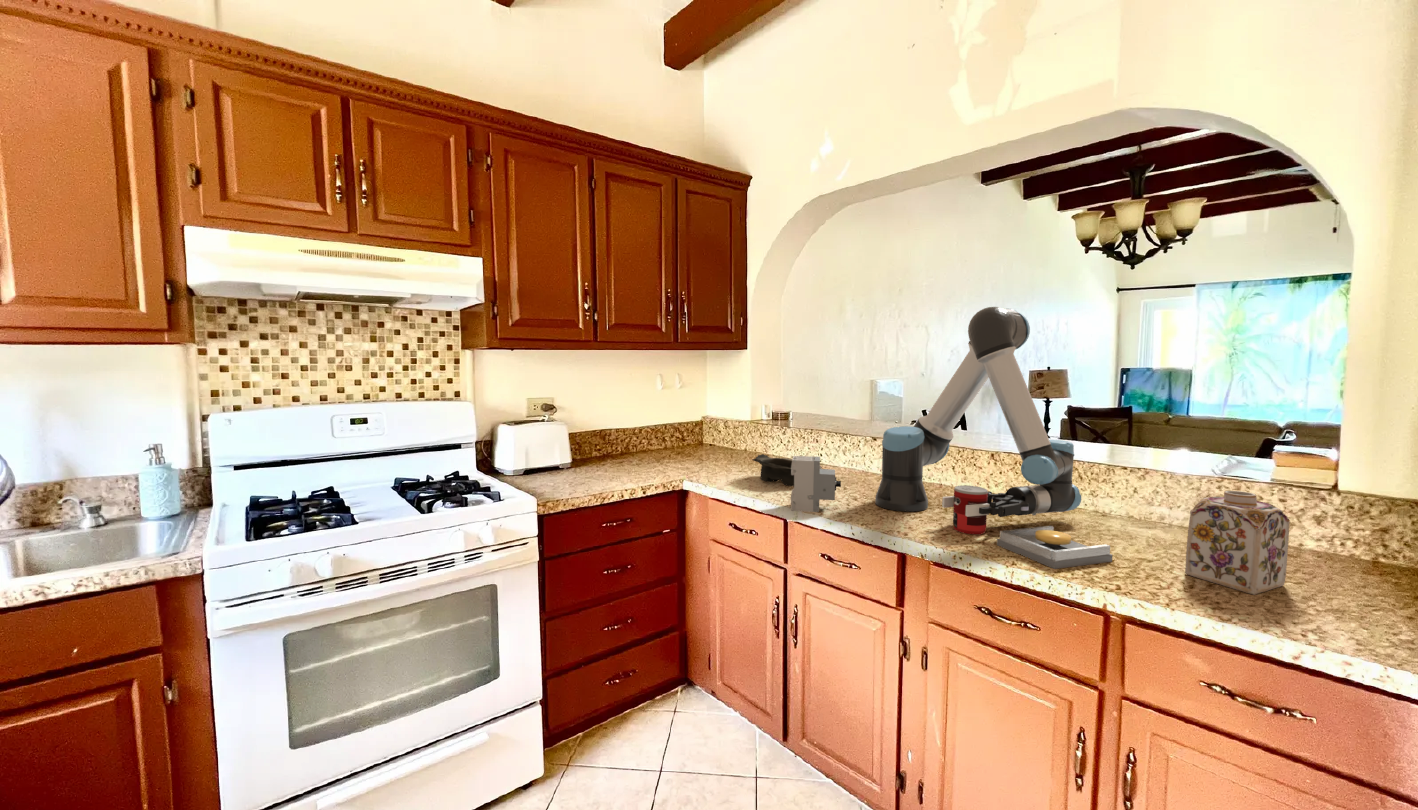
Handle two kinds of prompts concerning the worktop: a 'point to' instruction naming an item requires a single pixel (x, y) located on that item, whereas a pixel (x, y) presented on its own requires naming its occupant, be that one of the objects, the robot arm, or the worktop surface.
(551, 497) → the worktop surface
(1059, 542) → the button
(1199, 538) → the decorative jar
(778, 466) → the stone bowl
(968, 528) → the canned food
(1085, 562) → the switch base
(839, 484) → the circuit breaker
